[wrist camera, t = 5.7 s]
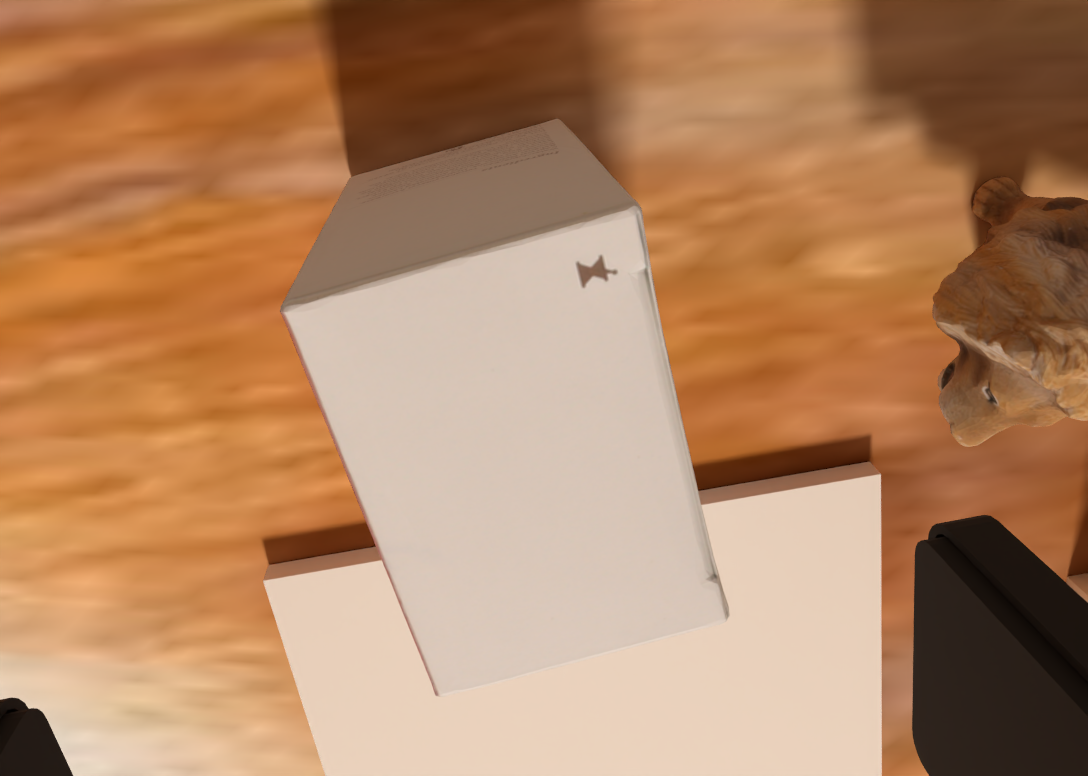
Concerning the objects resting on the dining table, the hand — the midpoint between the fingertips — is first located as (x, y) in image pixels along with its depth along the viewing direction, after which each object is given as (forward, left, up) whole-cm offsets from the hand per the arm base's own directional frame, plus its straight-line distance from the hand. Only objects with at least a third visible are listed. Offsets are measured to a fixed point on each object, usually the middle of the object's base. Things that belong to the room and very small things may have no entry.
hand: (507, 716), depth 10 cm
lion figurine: (-16, +3, -16) cm, 23 cm away
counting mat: (-2, +15, -16) cm, 22 cm away
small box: (-1, 0, -16) cm, 16 cm away
